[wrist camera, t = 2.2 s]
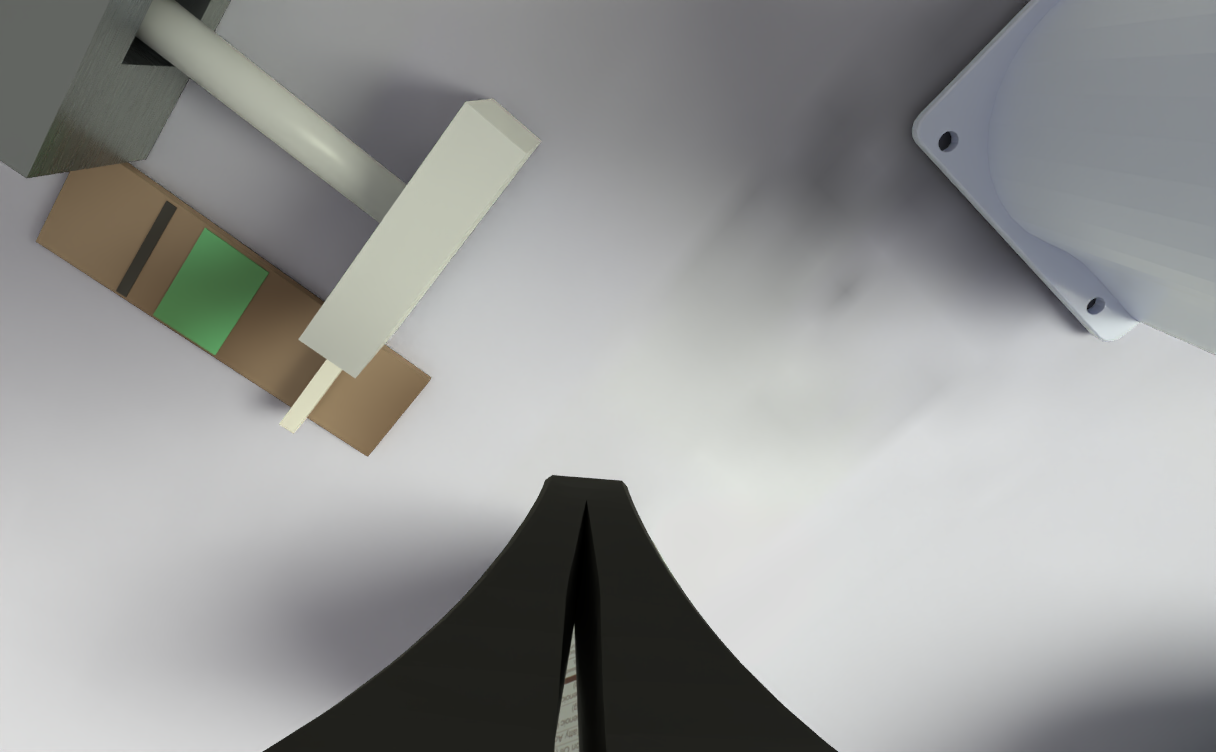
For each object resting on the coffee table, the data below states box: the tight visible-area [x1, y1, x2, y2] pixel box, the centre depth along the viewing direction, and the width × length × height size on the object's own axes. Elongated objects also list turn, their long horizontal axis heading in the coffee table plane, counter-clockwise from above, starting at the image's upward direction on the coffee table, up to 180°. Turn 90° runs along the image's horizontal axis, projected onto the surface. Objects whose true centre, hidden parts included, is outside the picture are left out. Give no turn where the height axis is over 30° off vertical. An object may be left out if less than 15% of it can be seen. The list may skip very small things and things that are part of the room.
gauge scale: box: [36, 162, 431, 457], centre depth 19 cm, size 11×4×1 cm, turn 49°
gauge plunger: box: [135, 0, 541, 434], centre depth 16 cm, size 11×12×4 cm
